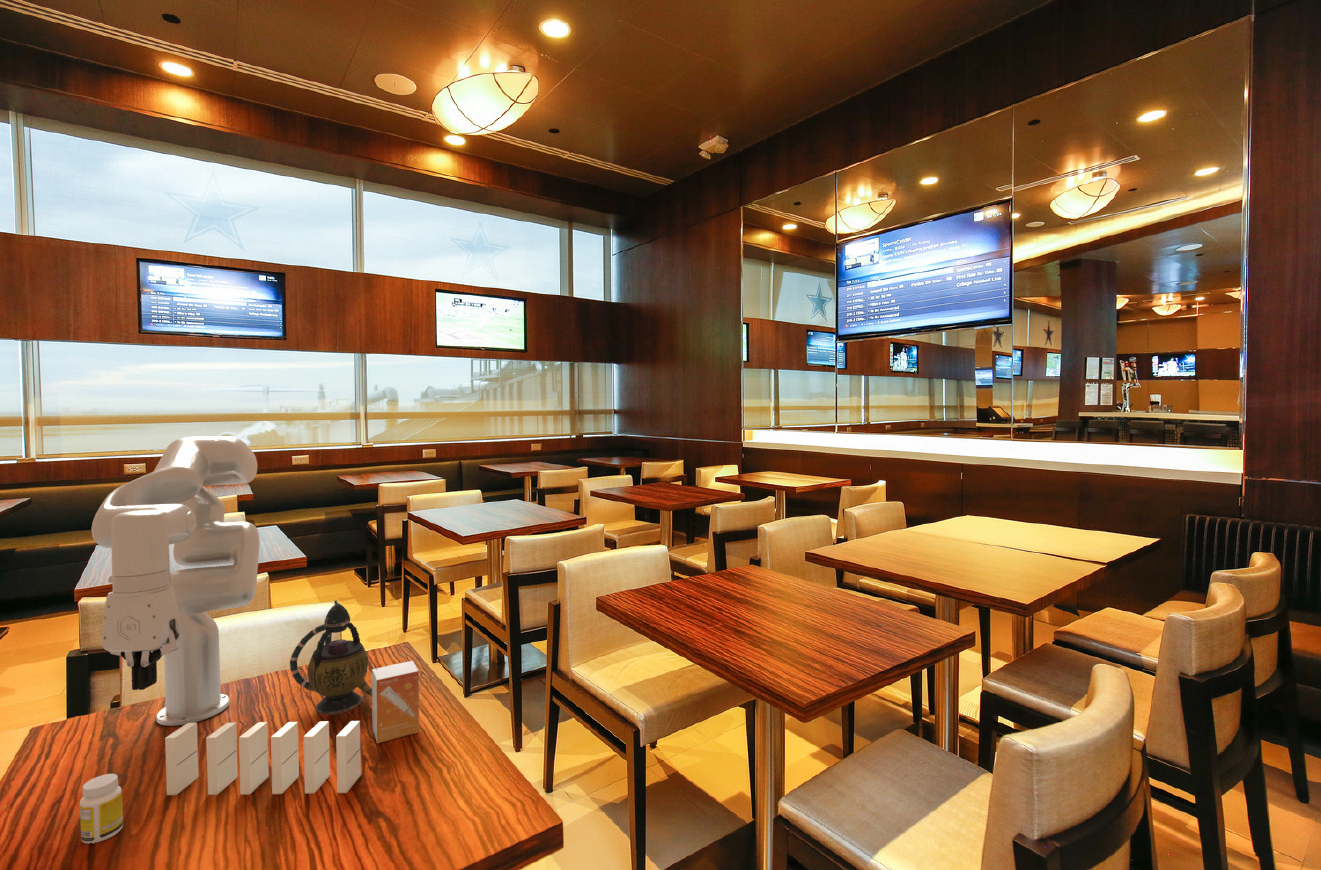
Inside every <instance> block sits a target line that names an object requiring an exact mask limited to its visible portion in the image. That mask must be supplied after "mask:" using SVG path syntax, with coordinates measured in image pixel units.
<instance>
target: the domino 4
mask: <svg viewBox="0 0 1321 870" xmlns="http://www.w3.org/2000/svg"><path fill="white" fill-rule="evenodd" d="M270 749H271V751H270V752H271V790H272V795H282V794H283V793H285V791H286V790H287V789H288V788H289V787H291V785H292V784H293V783H294V782H295V781H297V779H298V778H299V777H300V770H299V769H300V768H299V767H300V765H299V757H300V756H299V725H298V721H288V722H287V723H286V724H284V725H283V727H281V728H280V729H279V730H278V731H276V732H275V733H274V734H272V735H271V737H270Z"/></svg>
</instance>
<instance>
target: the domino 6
mask: <svg viewBox="0 0 1321 870" xmlns="http://www.w3.org/2000/svg"><path fill="white" fill-rule="evenodd" d="M335 737H336V738H335V739H336V743H335V744H336V749H335V750H336V790H337V791H336V792H337V794H347V793H348V792H349V790H351V789H352V787H353V786H354V784H355V783H356V782H357V781H358V780H359V778H360V777H361V776H362V774H361V773H362V768H361V766H362V765H361V764H362V763H361V761H362V759H361V720H350V721H349V722H348V724H347V725H345V726H344V728H343V729H342V730H340V732H339V733H338V734H337V735H336V736H335Z"/></svg>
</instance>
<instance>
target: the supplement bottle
mask: <svg viewBox="0 0 1321 870" xmlns="http://www.w3.org/2000/svg"><path fill="white" fill-rule="evenodd" d="M122 792H123V791H122V787H121V786H120V785H119V776H118V775H117V774H116V773H106V774H102V775H99V776H96V777H93V778H92V779H90V780H88V781H86V782H85V783H84V784H83V786H82V798H81V799H80V800H79V816H80V817H79V818H80V819H79V821H80V837H81V838H80V840H81V842H82V843H83V844H89V845H90V843H92V844H96V843H100V842H102V841H103V842H104V841H106V840H109V839H110V838H112V837H114V836H116V834H118V833H119V832H120V831H121V830H122V829H123V826H124V815H123V813H124V811H123V809H124V808H123V793H122Z"/></svg>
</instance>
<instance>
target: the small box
mask: <svg viewBox="0 0 1321 870" xmlns="http://www.w3.org/2000/svg"><path fill="white" fill-rule="evenodd" d="M419 673H420V671H419V669H418V668H417V666H416V664H415V661H414V660H410V661H405V662H400V663H395V664H394V663H393V664H390V665H389V664H388V665H386V666H382V667H377V668H373V669H371V688H372V697H371V700H372V701H371V707H372V708H371V709H372V710H371V711H372V717H371V718H372V732H373V735H374V737H375V740H376V743H377V744H380V743H384V742H388V741H391V740H396V739H399V738H402V737H406V735H407V736H411V735H414V734H418V732H419V733H420V679H419V678H420V677H419V675H420V674H419Z"/></svg>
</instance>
